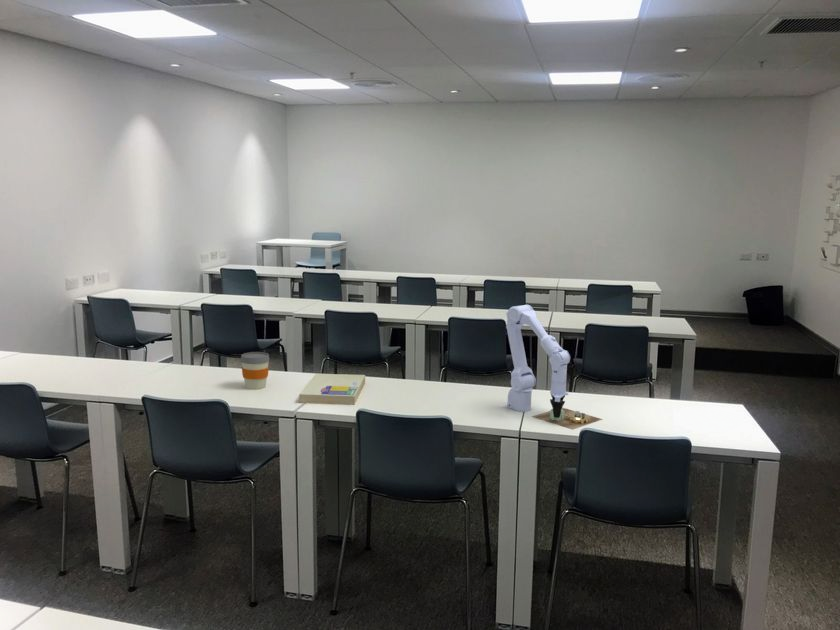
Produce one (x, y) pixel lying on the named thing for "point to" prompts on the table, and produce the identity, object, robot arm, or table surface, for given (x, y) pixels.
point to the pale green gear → (557, 418)
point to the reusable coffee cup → (255, 369)
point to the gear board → (563, 422)
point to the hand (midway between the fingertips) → (556, 414)
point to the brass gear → (577, 418)
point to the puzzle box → (333, 389)
